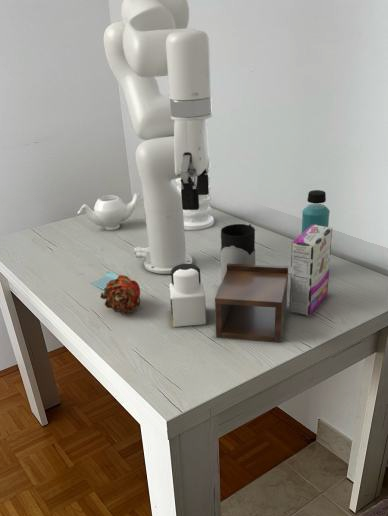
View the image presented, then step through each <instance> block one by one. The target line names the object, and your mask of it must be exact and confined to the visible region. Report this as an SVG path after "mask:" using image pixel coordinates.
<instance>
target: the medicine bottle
mask: <svg viewBox="0 0 388 516" xmlns="http://www.w3.org/2000/svg"><path fill="white" fill-rule="evenodd" d="M170 275H171V277H170V278H171V282H170V283H169V284H168V286H169V299H170V309H171V320H172V326H173V328H178V327H190V326H202V325H206V324H207V308H206V292H205V289H204V284H203V281H202V280H201V268H200V267H199V266H198V265H197V264H194V263H192V264H180V265H177V266H175V267H174V268H173V269H172V270H171V274H170Z"/></svg>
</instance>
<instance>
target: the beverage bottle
mask: <svg viewBox="0 0 388 516" xmlns="http://www.w3.org/2000/svg"><path fill="white" fill-rule="evenodd" d="M307 193H308V194H307V199H306V201H307V203H310V204H308V205H306V206H305V207H304V208H303V209H302V210H301V211H302V212H301V213H302V216H301V218H302V219H301V233H300V235H301V234H302V233H303V232H304V231H305V230H307V229H308V228H309V227H310V226H311V225H321V226H327V227H329V223H330V212H331V211H330V209H329V208H328V207H327V206H326V205H325V204H323V203H326V202H327V201H326V200H327V198H326V197H327V196H326V191H324V190H320V189H313V190H310V191H308V192H307Z"/></svg>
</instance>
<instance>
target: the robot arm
mask: <svg viewBox="0 0 388 516" xmlns="http://www.w3.org/2000/svg"><path fill="white" fill-rule="evenodd" d="M120 15H121V19H122V20H119V21H115V22H113V23H111V24H109V25H108V26H107V27H106V28H105V30H104V33H103V49H104V52H105V57H106V60H107V63H108V66H109V68H110V70H111V72H112V74H113V76H114V78H115V80H116V82H117V83H118V84H119V86H120V88H121V90H122V91H123V95H124V99H125V102H126V107H127V110H128V114H129V117H130V121H131V124H132V125H131V126H132V128H133V130H134V133H135V134H136V136H137V138H138V139H141V140H143V141H142V142H141V143H139V144H138V146H137V147H136V150H135V155H134V157H135V163H136V168H137V171H138V176H139V180H140V185H141V190H142V197H143V206H144V214H145V215H144V216H145V226H146V233H147V245H148V246H146V247H141V246H139V247H138V246H135V247H134V250H133V252H134V255H135V257H136V258H140V259H141V258H142V259H143V258H144V261H143V265H144V268H145V270H147V271H149V272H151V273H154V274H160V275H171V270H172V269H173V268H174V267H175V266H177V265H180V264H193V258H192V256H191V255H190V254H189V253H187V249H186V233H185V229H184V215H183V209H184V210H198V209H199V195H208V193H209V194H210V191H209V185H210V184H209V185H208V174H207V173H208V168H209V165H210V163H211V157H210V148H209V147H210V146H209V130H208V129H209V127H208V119H210V118H212V117H213V106H212V104H213V103H212V85H211V84H212V82H211V81H212V80H211V54H210V53H211V51H210V50H211V49H210V38H209V35H208V33H207V32H206V31H204V30H200V29H198V30H197V29H196V28H191V27H189V28H188V26H189V21H190V8H189V3H188V0H122V3H121V7H120ZM166 76H167V77H168V78H167V79H168V91H169V95H163V94H162V93H161V91H160V88H159V84H158V81H157V79H156V78H157V77H166ZM191 177H192V179H191ZM177 178H181V194H180V192H179V191H178V189H177V186H175V185H174V184H173V183H172V182H171V181H173V180H176V179H177Z"/></svg>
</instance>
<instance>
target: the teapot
mask: <svg viewBox="0 0 388 516" xmlns="http://www.w3.org/2000/svg"><path fill="white" fill-rule="evenodd" d="M140 196H141V192H134V193H133V197H132V200H131V201H130V202H129V203H127V204H125V202H124V201H123V200H122V199H121V197H119V196H118V195H115V194H107V195H102V196H99V197H98V198H97V199H96V202H95V204H94V206H93V210H92V209H91V208H90V206H88V204H82V205H81V207H80V208H79V210H78V211H77V212H76V213H77V214H81V213H83V211H85V214H86V216H87V218H88V219H89V220H90V221H91V222H92V223H93V224H95V225H97V226H99V227H103V228H104V229H105V230H107V231H115V230H118V229H120V228H121V223H122V222H125V221H127V220H128V219H129V218H130V217H131V216H132V214H133V212H134V211H135V209H136V206H137V205H138V202H139V199H140Z"/></svg>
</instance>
